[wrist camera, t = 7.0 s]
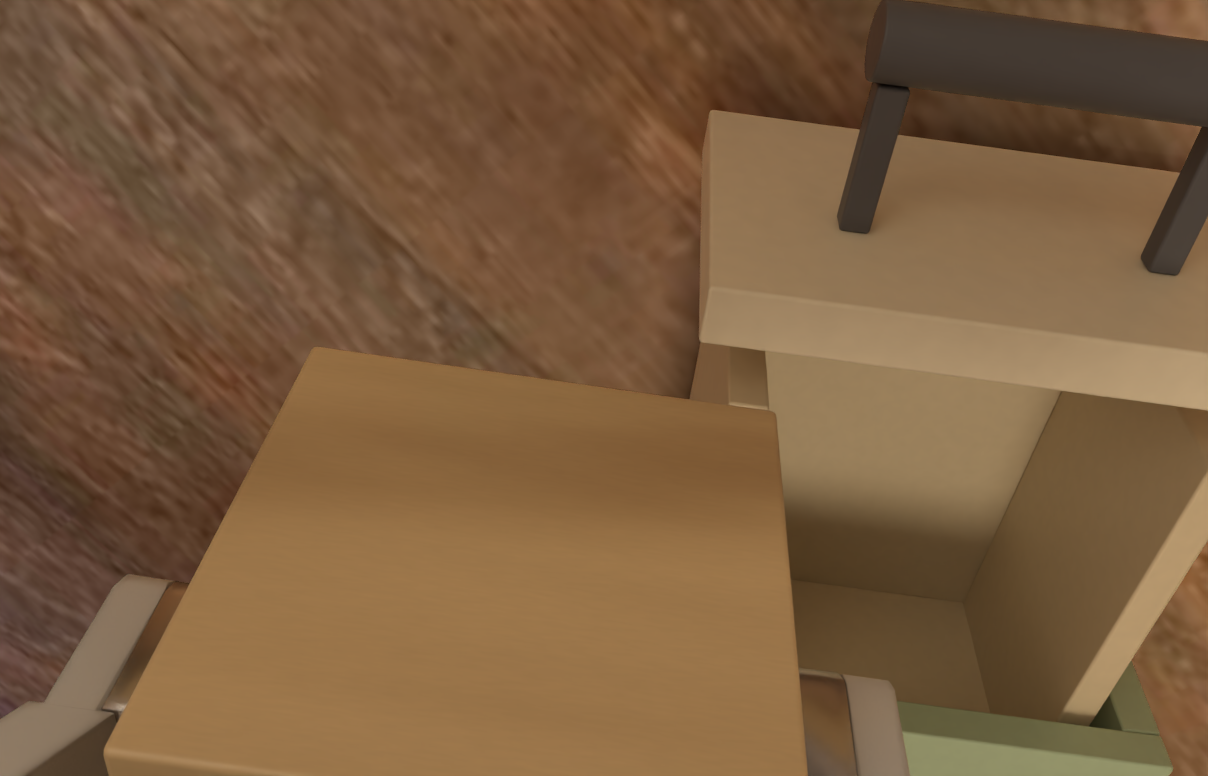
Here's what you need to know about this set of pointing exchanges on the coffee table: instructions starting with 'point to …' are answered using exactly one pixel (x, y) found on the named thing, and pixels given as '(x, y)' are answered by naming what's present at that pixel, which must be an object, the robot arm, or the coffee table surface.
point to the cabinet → (1037, 740)
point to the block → (484, 590)
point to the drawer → (972, 362)
